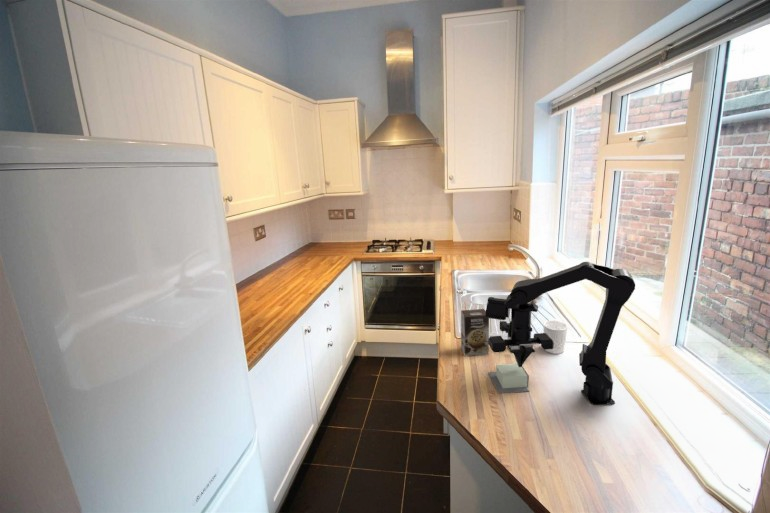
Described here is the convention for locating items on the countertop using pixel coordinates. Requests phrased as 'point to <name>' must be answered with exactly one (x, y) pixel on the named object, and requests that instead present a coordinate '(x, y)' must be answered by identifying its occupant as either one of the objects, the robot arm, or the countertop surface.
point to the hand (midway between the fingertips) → (519, 366)
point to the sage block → (512, 376)
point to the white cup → (556, 335)
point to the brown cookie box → (474, 332)
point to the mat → (505, 390)
